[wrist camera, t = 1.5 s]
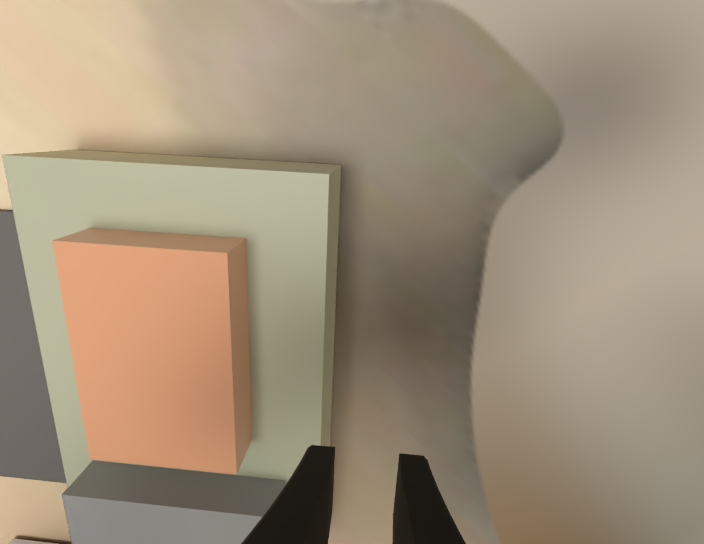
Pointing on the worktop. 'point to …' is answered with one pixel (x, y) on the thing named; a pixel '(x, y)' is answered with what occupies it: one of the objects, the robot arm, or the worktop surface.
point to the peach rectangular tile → (159, 345)
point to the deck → (210, 220)
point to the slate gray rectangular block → (164, 505)
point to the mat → (22, 375)
